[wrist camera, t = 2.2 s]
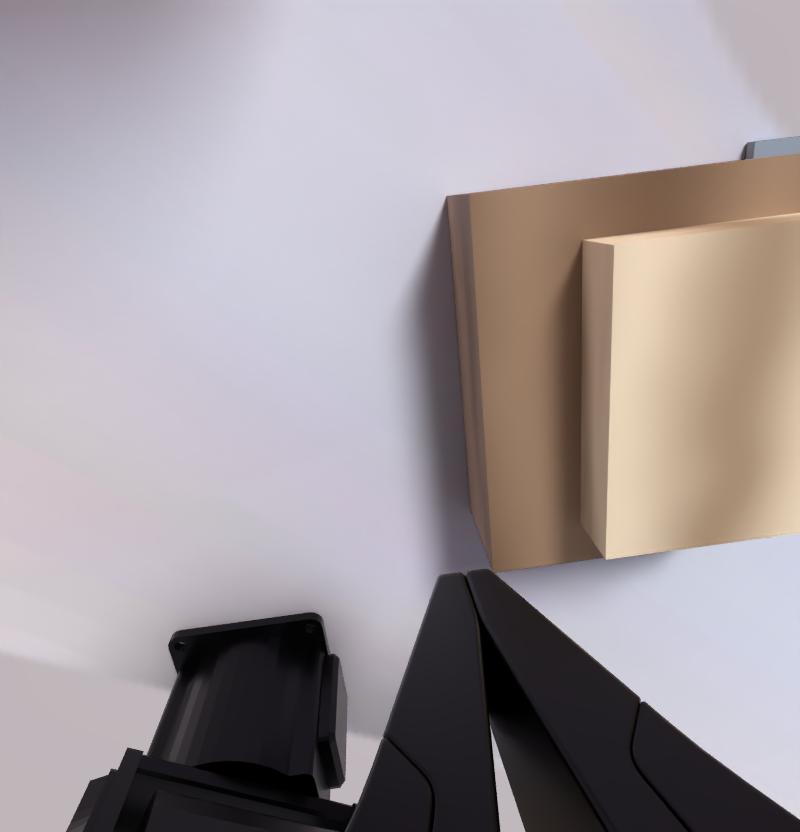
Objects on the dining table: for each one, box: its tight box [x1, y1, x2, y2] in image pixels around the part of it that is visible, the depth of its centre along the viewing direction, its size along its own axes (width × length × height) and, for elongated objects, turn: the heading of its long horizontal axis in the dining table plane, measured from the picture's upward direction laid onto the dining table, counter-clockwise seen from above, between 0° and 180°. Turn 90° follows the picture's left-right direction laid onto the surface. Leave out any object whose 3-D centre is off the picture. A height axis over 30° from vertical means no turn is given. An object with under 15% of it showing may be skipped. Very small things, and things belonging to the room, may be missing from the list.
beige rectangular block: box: [580, 213, 800, 560], centre depth 16 cm, size 6×9×2 cm, turn 6°
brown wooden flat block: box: [447, 153, 800, 573], centre depth 18 cm, size 10×12×4 cm
